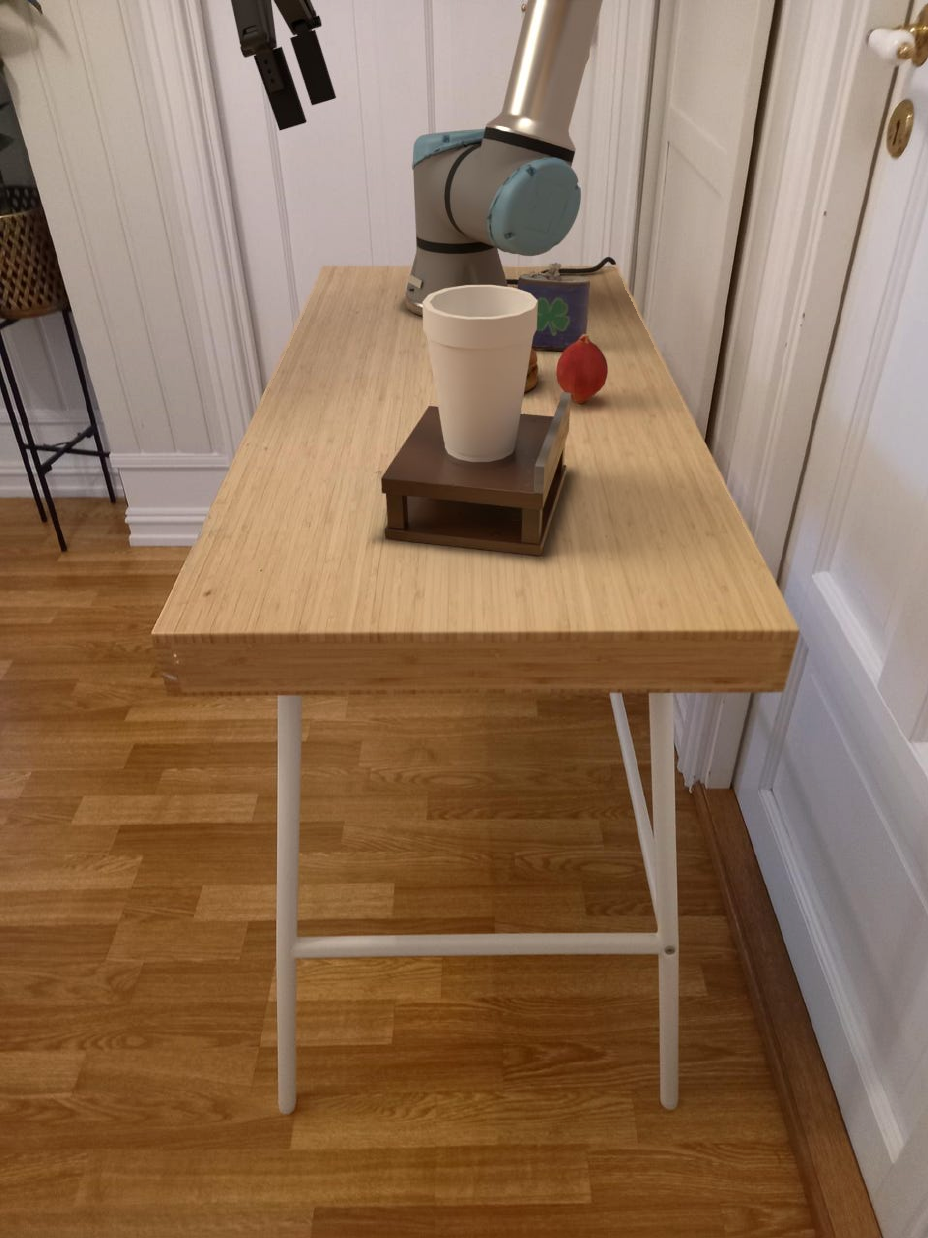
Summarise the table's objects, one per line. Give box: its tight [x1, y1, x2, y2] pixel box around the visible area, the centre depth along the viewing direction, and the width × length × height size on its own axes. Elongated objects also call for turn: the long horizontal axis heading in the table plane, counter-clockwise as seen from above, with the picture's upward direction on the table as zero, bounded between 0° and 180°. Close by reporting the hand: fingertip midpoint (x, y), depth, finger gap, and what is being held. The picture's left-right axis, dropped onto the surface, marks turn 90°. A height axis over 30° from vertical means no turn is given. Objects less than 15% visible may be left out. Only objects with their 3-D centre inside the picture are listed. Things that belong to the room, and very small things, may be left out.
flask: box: [517, 262, 591, 352], centre depth 120 cm, size 9×3×11 cm, turn 77°
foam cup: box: [422, 285, 538, 462], centre depth 81 cm, size 10×9×13 cm
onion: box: [555, 333, 609, 404], centre depth 105 cm, size 6×6×8 cm
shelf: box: [380, 391, 572, 557], centre depth 86 cm, size 16×14×8 cm
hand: (309, 113), depth 97 cm, fingers open, 13 cm apart
